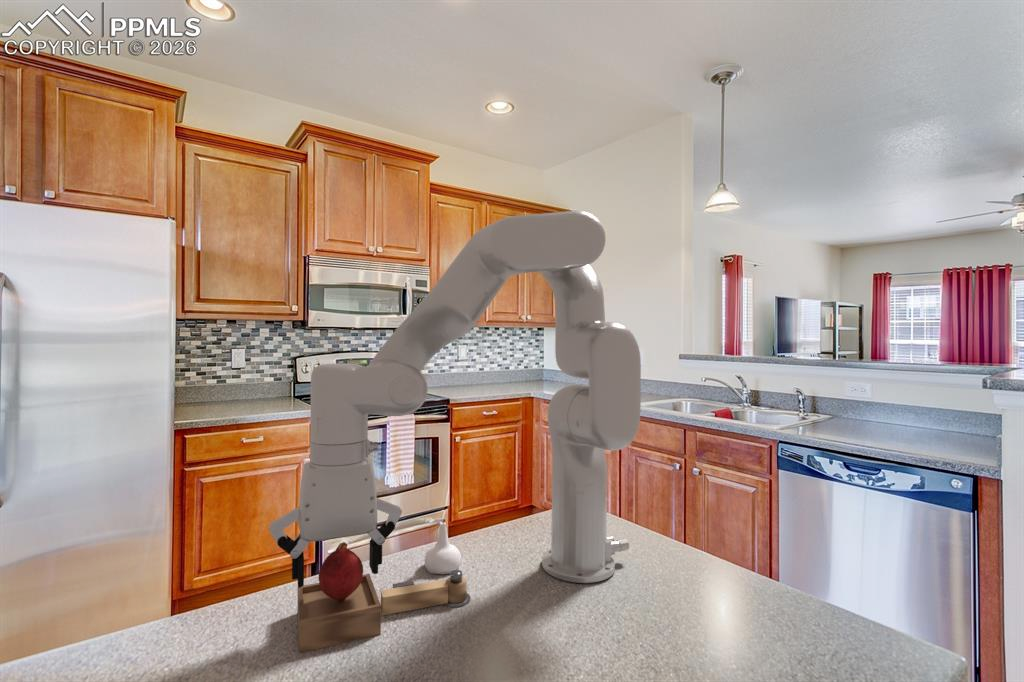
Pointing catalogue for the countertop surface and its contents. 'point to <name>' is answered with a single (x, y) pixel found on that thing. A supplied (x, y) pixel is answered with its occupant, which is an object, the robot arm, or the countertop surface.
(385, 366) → the robot arm
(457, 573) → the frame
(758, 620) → the countertop surface
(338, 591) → the onion
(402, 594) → the leg
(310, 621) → the wooden tray
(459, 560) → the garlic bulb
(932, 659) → the countertop surface
